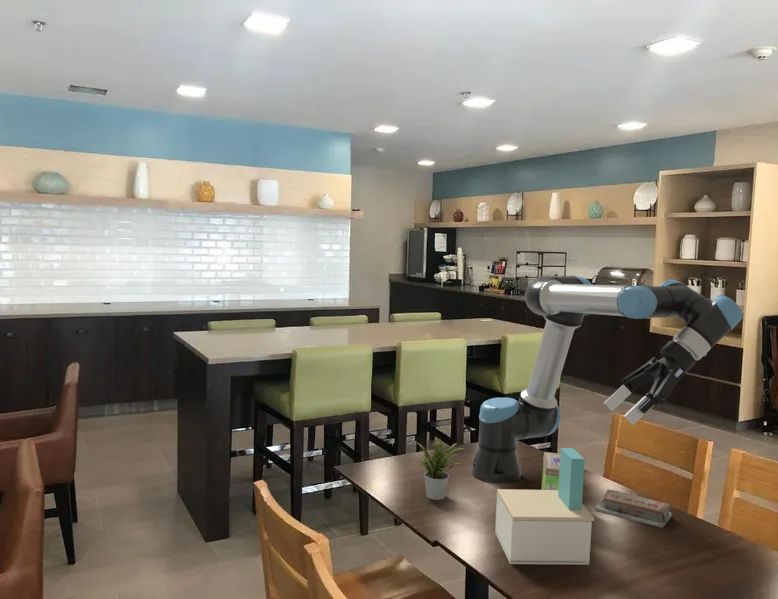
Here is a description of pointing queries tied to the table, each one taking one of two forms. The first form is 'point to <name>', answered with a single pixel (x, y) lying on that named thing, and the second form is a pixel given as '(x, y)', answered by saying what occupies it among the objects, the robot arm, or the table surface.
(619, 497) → the packaged product
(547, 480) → the tea box
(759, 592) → the table surface
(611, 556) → the table surface
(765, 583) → the table surface
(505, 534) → the carton
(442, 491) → the house plant
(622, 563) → the table surface
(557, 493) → the teal slab on tray
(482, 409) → the robot arm
